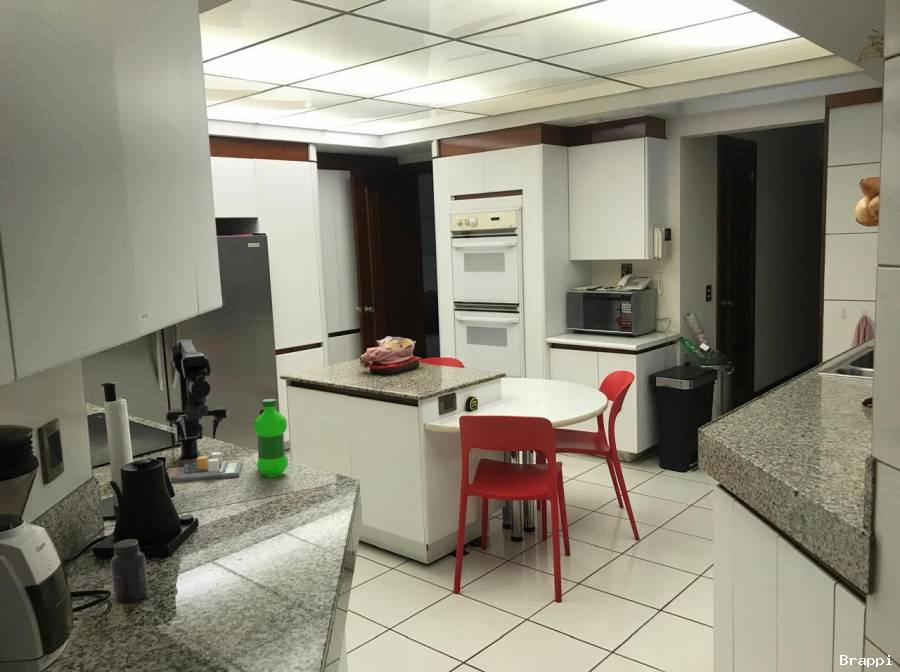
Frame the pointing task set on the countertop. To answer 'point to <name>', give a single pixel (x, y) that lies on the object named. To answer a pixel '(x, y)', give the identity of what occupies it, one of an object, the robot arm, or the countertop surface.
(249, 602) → the countertop surface
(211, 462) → the block
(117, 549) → the supplement bottle
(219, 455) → the block
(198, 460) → the block
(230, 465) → the panel
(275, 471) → the plastic bottle
